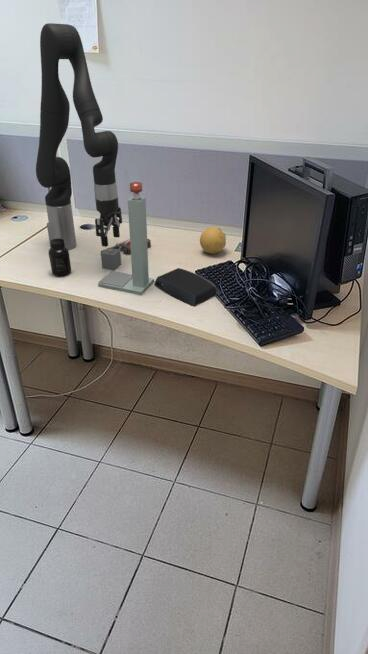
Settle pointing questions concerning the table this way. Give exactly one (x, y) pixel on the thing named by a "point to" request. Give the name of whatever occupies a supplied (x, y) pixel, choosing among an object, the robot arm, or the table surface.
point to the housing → (111, 259)
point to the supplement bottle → (59, 258)
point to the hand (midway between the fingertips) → (111, 241)
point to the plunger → (136, 189)
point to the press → (133, 254)
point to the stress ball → (212, 240)
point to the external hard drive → (186, 286)
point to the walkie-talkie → (127, 246)
